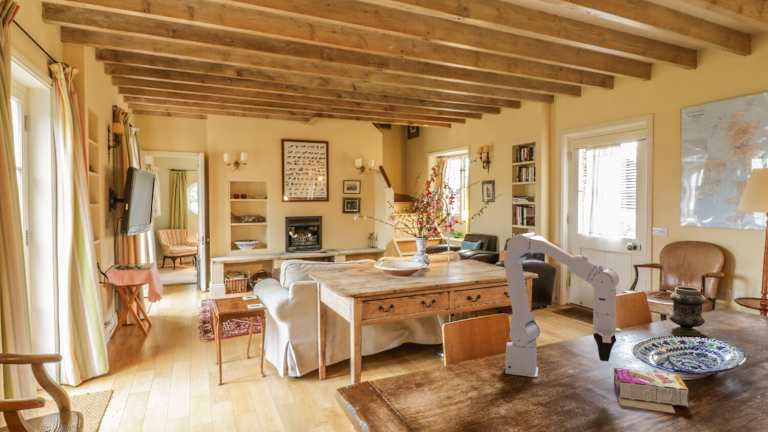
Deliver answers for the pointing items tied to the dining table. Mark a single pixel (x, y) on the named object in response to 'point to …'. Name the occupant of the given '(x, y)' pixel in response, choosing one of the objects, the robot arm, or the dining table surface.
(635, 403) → the placemat
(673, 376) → the candy bar box
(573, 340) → the dining table surface
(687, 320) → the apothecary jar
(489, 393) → the dining table surface
